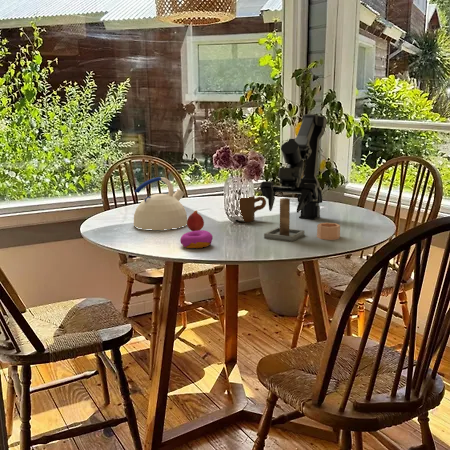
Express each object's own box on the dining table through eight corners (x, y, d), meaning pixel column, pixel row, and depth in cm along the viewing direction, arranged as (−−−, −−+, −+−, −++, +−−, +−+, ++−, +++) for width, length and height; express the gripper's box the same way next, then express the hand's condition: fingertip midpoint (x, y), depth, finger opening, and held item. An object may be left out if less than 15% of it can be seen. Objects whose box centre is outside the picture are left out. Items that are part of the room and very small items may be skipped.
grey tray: (264, 239, 172) (264, 233, 172) (277, 233, 181) (277, 227, 180) (292, 243, 167) (292, 237, 167) (304, 236, 176) (304, 230, 175)
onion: (191, 235, 179) (190, 212, 177) (184, 232, 184) (183, 210, 182) (206, 233, 181) (206, 211, 180) (199, 230, 186) (199, 208, 185)
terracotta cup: (314, 239, 171) (315, 226, 170) (322, 235, 177) (322, 222, 176) (334, 242, 168) (335, 228, 167) (341, 237, 174) (342, 224, 173)
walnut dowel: (277, 234, 174) (277, 199, 172) (285, 233, 176) (285, 197, 173) (283, 236, 172) (284, 200, 169) (291, 235, 173) (291, 199, 171)
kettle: (199, 225, 195) (198, 176, 191) (151, 234, 182) (148, 182, 178) (169, 217, 210) (167, 172, 206) (123, 224, 198) (120, 177, 194)
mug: (265, 218, 205) (265, 194, 203) (266, 222, 198) (266, 197, 196) (234, 218, 205) (234, 194, 203) (234, 222, 198) (234, 198, 196)
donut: (185, 241, 172) (184, 228, 171) (215, 242, 170) (215, 228, 169) (177, 250, 162) (177, 235, 161) (209, 251, 160) (209, 236, 159)
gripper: (261, 157, 175) (250, 195, 168) (317, 158, 168) (307, 198, 161) (269, 177, 184) (258, 214, 177) (321, 179, 177) (313, 218, 170)
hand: (283, 211), depth 171 cm, fingers open, 9 cm apart
